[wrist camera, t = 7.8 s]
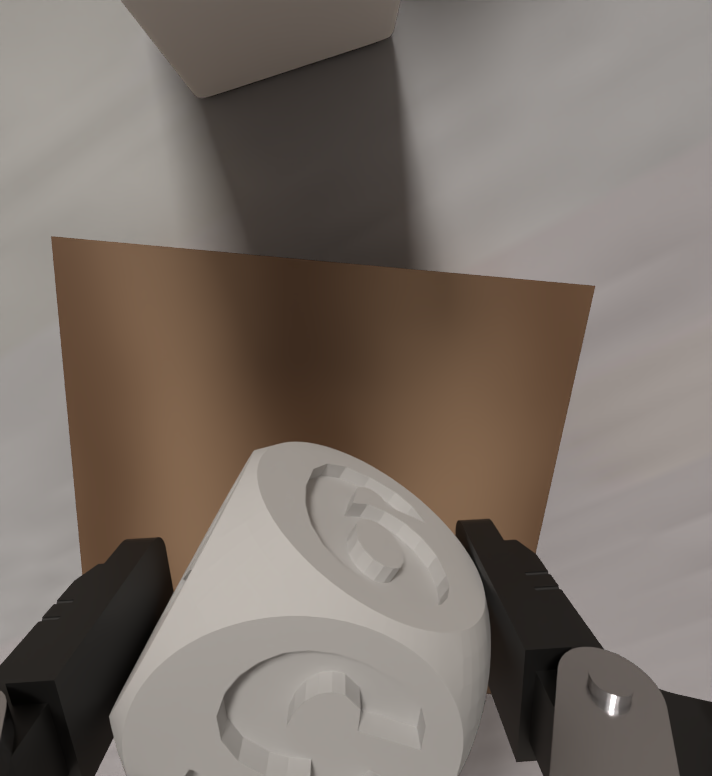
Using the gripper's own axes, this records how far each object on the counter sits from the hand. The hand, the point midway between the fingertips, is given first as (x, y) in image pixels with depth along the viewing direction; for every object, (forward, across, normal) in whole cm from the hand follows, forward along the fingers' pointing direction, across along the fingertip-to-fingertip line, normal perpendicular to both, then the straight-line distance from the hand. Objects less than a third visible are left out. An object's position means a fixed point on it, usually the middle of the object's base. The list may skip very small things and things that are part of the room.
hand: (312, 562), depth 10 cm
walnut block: (+9, 0, 0) cm, 9 cm away
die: (+1, 0, 0) cm, 1 cm away
